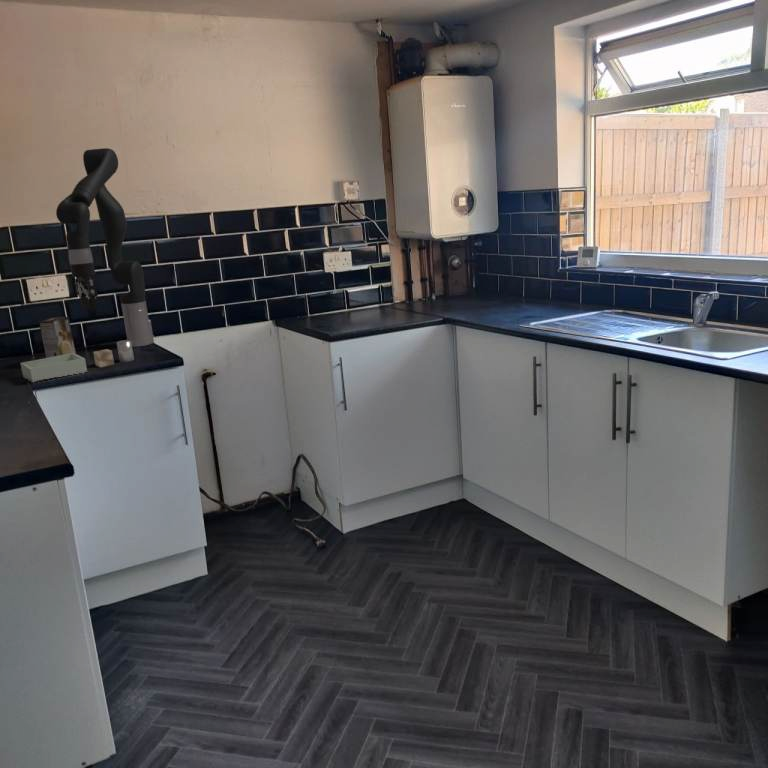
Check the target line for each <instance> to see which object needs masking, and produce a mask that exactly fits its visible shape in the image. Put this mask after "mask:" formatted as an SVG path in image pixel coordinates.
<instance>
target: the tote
mask: <svg viewBox="0 0 768 768" xmlns="http://www.w3.org/2000/svg"><path fill="white" fill-rule="evenodd" d="M20 367H21V368H20V369H21V372H22V377H23V378H24V379H26V380H27V379H28V380H27V381H29V382H30V381H31V382H30V383H32V382H33V383H34V382H36V381H39V380H43V379H49V378H54V377H62V376H67V375H72V376H74V375H73V374H77V375H80V374H79V373H82V374H85V372H87V373H88V368H87V363H86V358H85V357H83V356H81V355H78V354H77V353H76V354H74V353H70V354H65V355H60V356H54V357H49V358H46V357H45V358H44V357H43V358H40V359H39V358H38V359H35V360H29V361H23V362H20ZM33 383H32V384H33ZM34 384H35V383H34Z"/></svg>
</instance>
